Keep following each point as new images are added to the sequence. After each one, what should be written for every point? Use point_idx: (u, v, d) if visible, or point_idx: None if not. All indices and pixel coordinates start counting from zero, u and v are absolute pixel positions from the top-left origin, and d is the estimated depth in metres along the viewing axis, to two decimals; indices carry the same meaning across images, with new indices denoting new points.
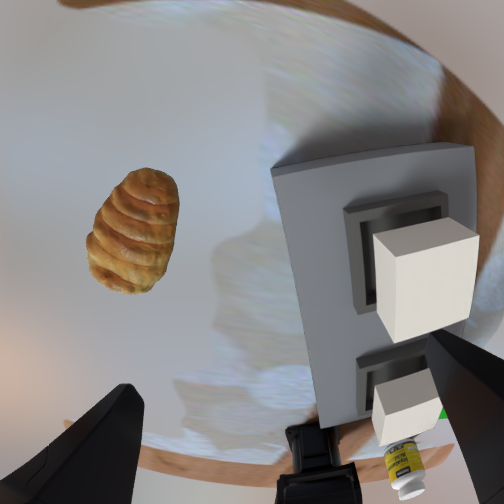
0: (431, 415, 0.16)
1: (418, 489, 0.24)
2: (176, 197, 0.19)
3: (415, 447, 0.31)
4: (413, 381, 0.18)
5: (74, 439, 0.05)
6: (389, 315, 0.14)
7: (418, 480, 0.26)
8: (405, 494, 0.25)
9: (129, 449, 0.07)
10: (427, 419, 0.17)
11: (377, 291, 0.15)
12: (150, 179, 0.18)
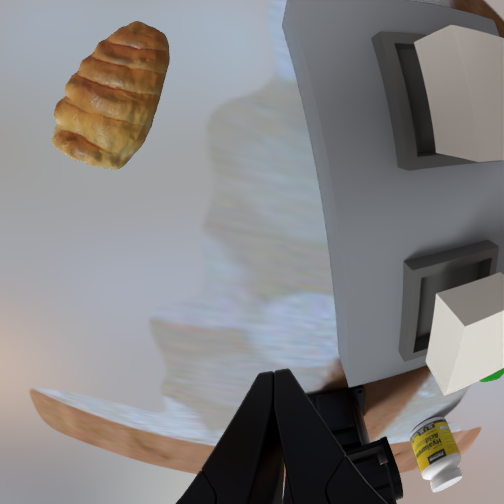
0: None
1: (456, 476, 0.18)
2: (166, 47, 0.13)
3: (447, 427, 0.25)
4: (484, 286, 0.12)
5: (243, 451, 0.05)
6: (461, 125, 0.08)
7: (454, 465, 0.20)
8: (440, 483, 0.19)
9: (281, 448, 0.06)
10: None
11: (433, 116, 0.09)
12: (138, 28, 0.12)
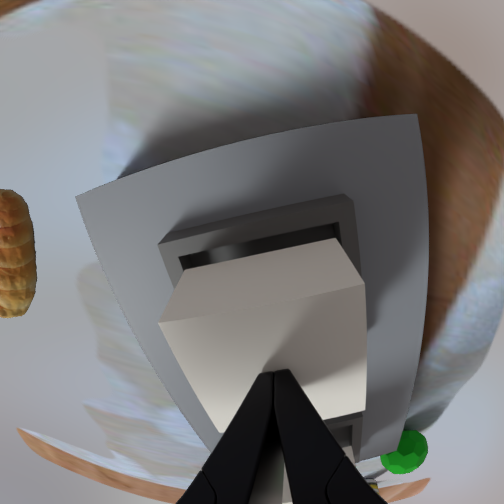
0: None
1: None
2: (22, 217, 0.14)
3: (374, 489, 0.26)
4: None
5: (243, 451, 0.05)
6: None
7: None
8: None
9: (281, 448, 0.06)
10: None
11: None
12: None
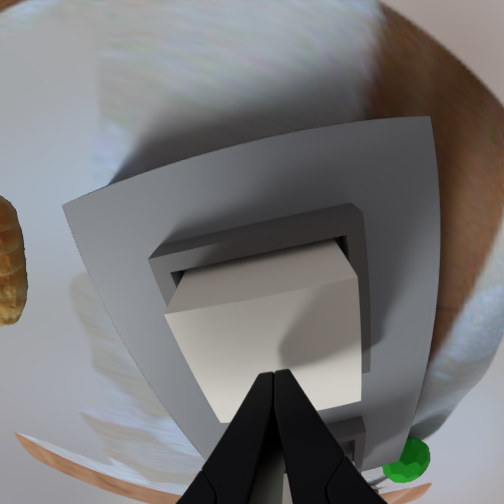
0: None
1: None
2: (10, 223, 0.13)
3: None
4: None
5: (243, 451, 0.05)
6: None
7: None
8: None
9: (281, 448, 0.06)
10: None
11: None
12: None
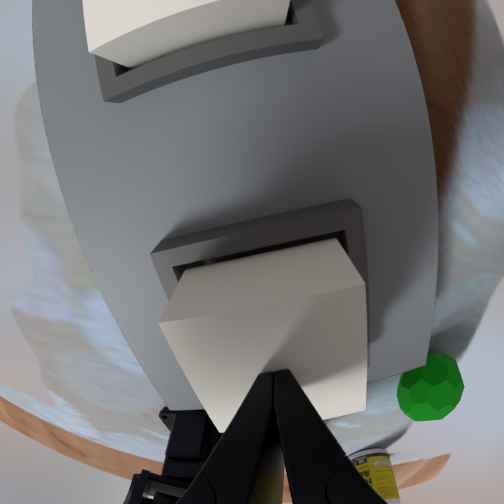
0: (337, 367, 0.07)
1: None
2: None
3: (387, 462, 0.21)
4: (273, 261, 0.09)
5: (243, 451, 0.05)
6: None
7: None
8: None
9: (281, 448, 0.06)
10: (329, 378, 0.07)
11: None
12: None
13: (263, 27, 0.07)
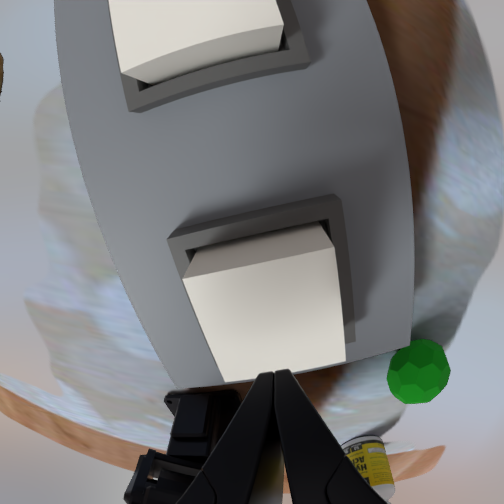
0: (318, 316, 0.10)
1: None
2: None
3: (381, 449, 0.23)
4: (268, 237, 0.11)
5: (243, 451, 0.05)
6: None
7: None
8: None
9: (281, 448, 0.06)
10: (313, 326, 0.10)
11: None
12: None
13: (261, 51, 0.09)
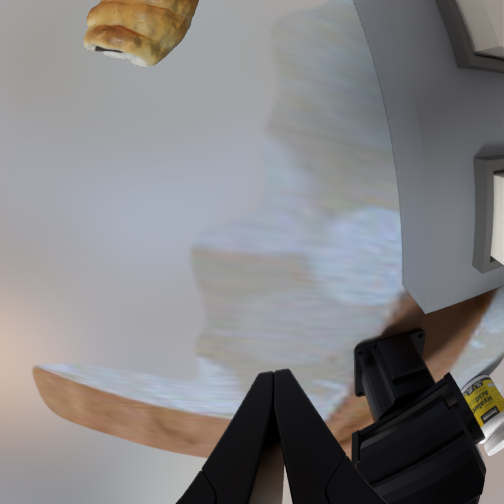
0: None
1: None
2: None
3: (494, 385, 0.23)
4: None
5: (243, 451, 0.05)
6: (482, 26, 0.07)
7: None
8: (497, 443, 0.16)
9: (281, 448, 0.06)
10: None
11: None
12: None
13: None
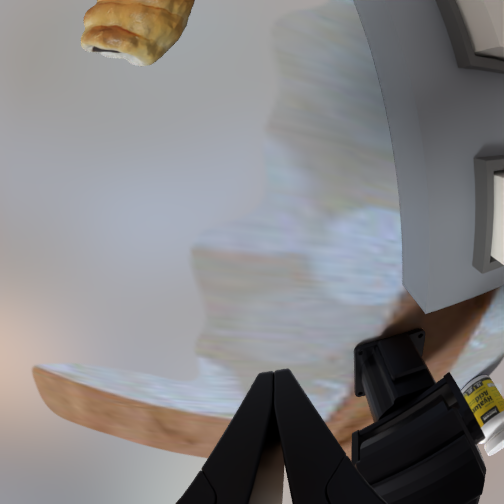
0: None
1: None
2: None
3: (494, 385, 0.23)
4: None
5: (243, 451, 0.05)
6: (482, 26, 0.07)
7: None
8: (497, 443, 0.16)
9: (281, 448, 0.06)
10: None
11: None
12: None
13: None
